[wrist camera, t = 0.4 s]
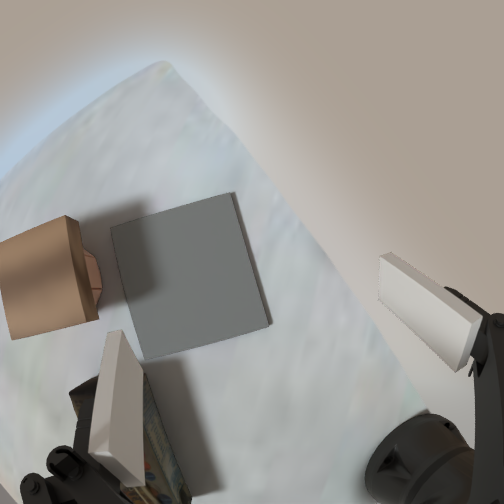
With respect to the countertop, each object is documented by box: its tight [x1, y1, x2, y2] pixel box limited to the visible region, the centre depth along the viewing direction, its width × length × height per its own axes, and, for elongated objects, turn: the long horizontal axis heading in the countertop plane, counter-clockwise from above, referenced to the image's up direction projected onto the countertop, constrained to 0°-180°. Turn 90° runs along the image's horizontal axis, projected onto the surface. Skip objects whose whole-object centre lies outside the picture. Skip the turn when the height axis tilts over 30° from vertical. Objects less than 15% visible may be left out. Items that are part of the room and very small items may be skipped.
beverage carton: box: [69, 373, 192, 504], centre depth 27 cm, size 8×19×7 cm, turn 13°
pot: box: [83, 249, 102, 305], centre depth 29 cm, size 9×9×5 cm
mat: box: [110, 193, 269, 360], centre depth 32 cm, size 15×14×1 cm
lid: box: [0, 215, 99, 340], centre depth 25 cm, size 10×10×3 cm
